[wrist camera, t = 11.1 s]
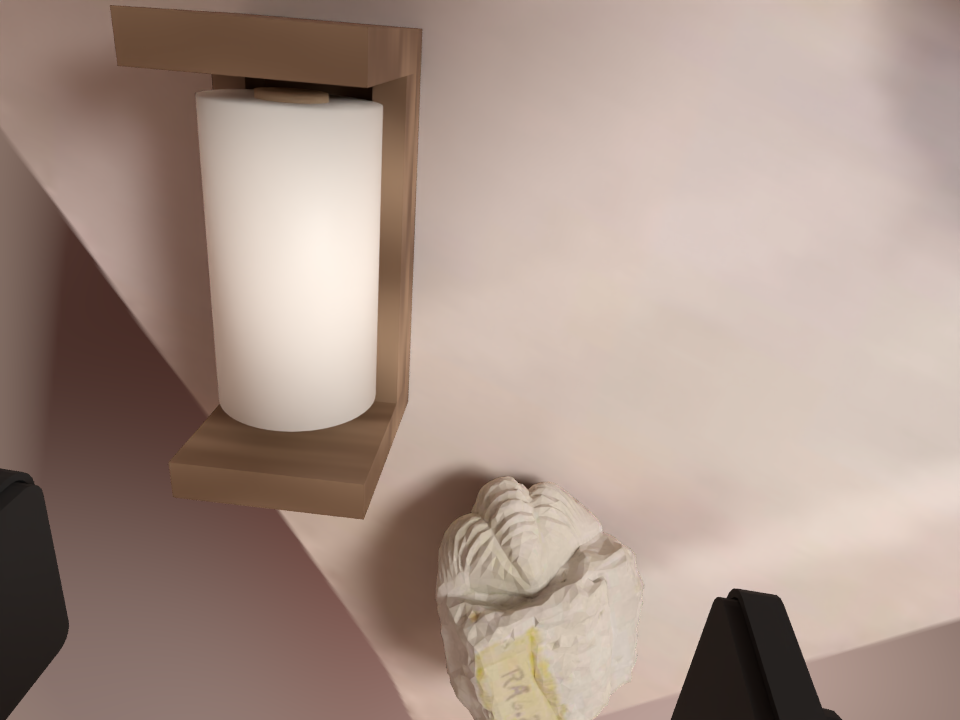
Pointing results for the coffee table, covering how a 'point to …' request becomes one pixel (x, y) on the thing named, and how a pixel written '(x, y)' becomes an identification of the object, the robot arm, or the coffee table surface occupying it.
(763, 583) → the coffee table surface
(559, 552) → the fossil replica
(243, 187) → the roll
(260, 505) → the holder
